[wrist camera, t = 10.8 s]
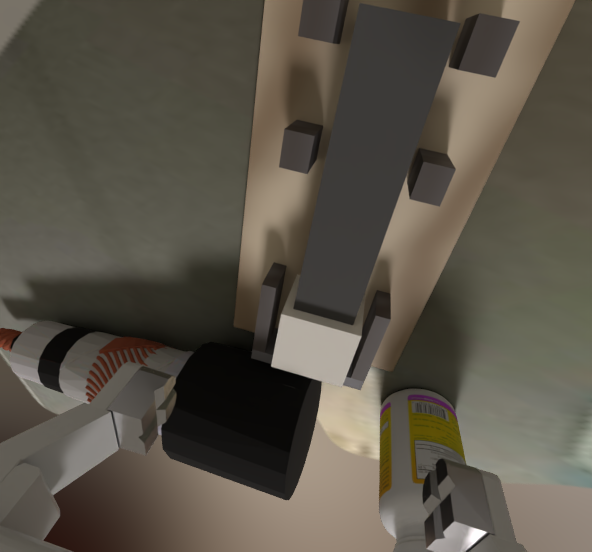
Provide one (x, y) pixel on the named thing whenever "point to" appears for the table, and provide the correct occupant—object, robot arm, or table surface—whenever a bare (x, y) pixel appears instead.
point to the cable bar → (361, 184)
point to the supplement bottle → (413, 459)
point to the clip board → (423, 169)
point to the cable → (189, 398)
